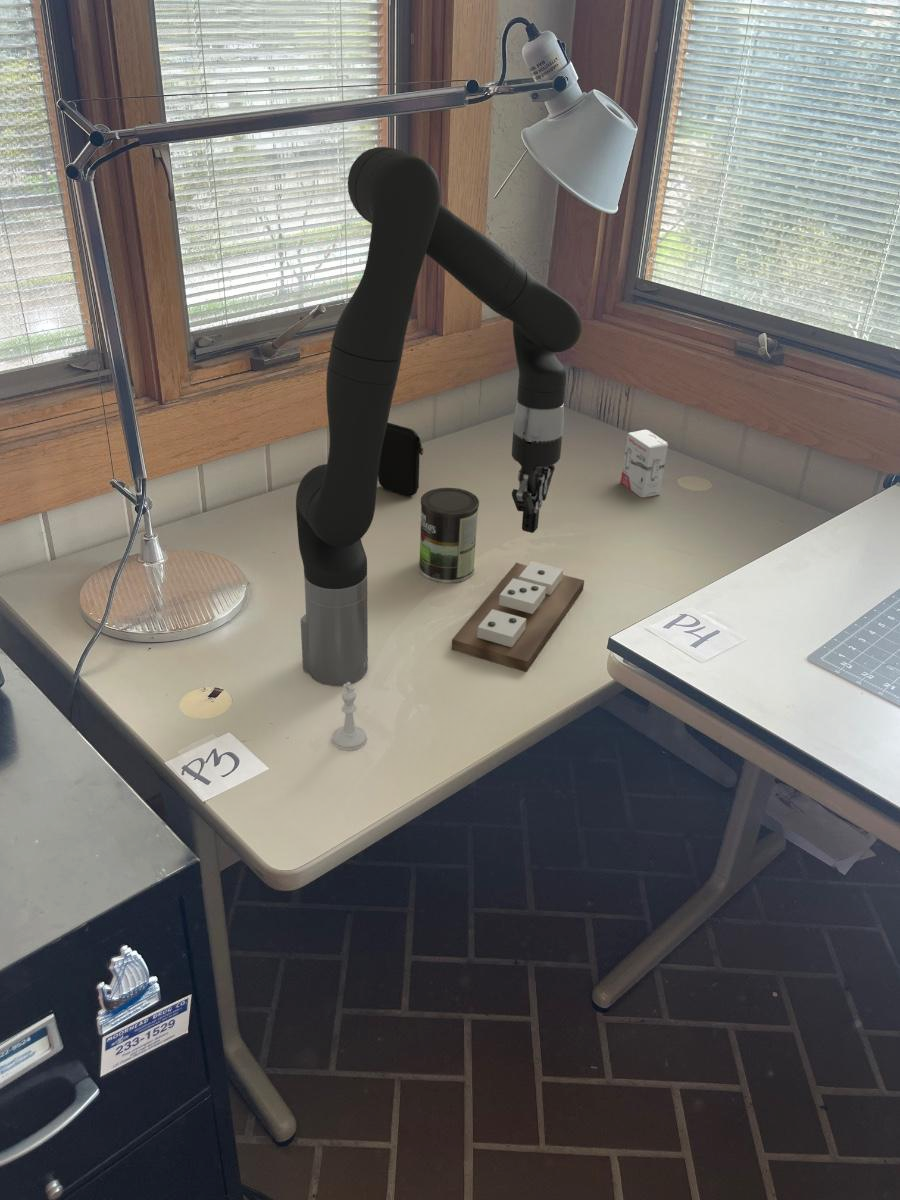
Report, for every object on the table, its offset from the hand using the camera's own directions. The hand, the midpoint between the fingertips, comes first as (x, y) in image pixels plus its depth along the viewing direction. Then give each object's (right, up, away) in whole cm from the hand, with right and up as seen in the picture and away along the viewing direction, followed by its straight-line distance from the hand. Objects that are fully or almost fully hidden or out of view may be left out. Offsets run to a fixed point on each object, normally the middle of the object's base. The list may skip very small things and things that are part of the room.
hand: (529, 530), depth 163 cm
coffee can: (-13, -6, +22) cm, 27 cm away
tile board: (-1, -14, +9) cm, 17 cm away
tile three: (-1, -11, +7) cm, 14 cm away
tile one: (+3, -8, +15) cm, 17 cm away
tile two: (-4, -17, +1) cm, 17 cm away
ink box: (+28, +12, +55) cm, 63 cm away
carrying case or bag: (-23, +11, +48) cm, 55 cm away
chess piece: (-27, -31, -19) cm, 46 cm away
